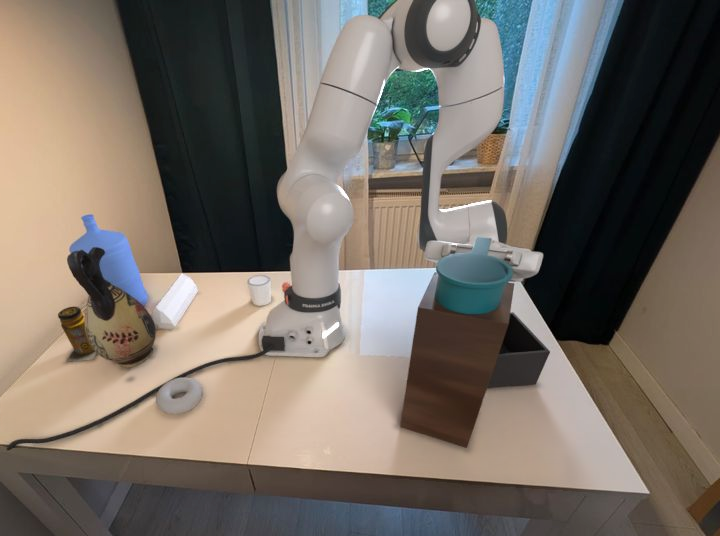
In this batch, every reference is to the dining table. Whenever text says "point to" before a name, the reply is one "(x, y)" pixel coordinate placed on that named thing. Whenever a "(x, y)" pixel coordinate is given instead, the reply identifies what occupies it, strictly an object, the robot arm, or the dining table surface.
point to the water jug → (113, 258)
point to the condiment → (76, 334)
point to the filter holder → (472, 280)
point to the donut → (182, 403)
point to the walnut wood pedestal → (451, 366)
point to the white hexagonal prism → (174, 303)
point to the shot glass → (260, 289)
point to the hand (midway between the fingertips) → (480, 252)
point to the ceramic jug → (112, 314)
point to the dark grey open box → (518, 357)
